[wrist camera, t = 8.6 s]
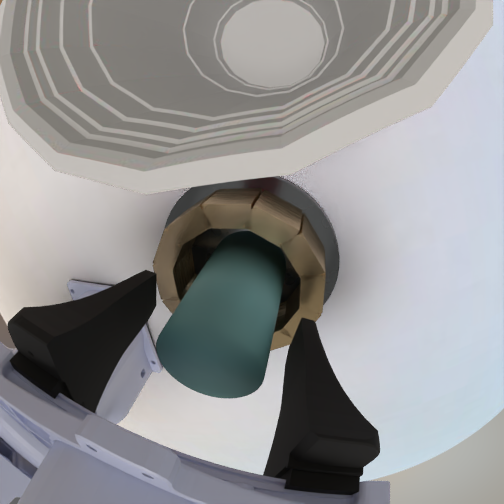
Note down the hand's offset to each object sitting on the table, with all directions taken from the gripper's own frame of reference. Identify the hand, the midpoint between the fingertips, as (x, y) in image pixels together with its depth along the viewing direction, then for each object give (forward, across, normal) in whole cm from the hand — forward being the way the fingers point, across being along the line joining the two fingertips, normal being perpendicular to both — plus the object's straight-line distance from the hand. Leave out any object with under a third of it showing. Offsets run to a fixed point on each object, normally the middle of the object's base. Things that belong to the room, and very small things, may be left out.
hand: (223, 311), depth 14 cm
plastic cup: (+6, +1, -13) cm, 14 cm away
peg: (+5, 0, 0) cm, 5 cm away
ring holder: (+5, 0, 0) cm, 5 cm away
